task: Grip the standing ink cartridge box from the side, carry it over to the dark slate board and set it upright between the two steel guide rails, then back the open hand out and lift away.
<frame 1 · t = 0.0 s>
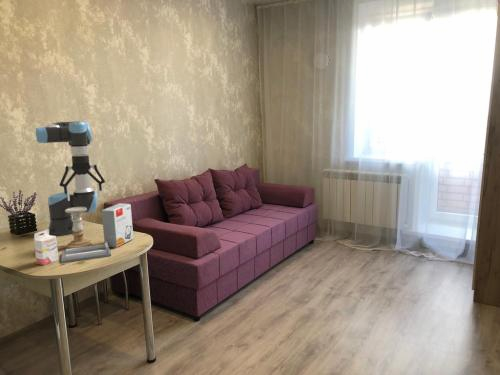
hand: (84, 199, 194), 28 cm above the table, tool pointing down, fingers open, 13 cm apart
ink cartridge box: (48, 262, 189), on the table
rail cradle: (86, 254, 198), on the table
candle holder: (79, 246, 212), on the table
hard drive box: (119, 243, 215), on the table
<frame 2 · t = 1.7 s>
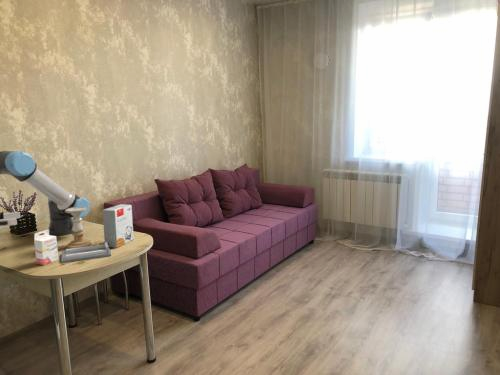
hand: (18, 218, 181), 22 cm above the table, tool horizontal, fingers open, 13 cm apart
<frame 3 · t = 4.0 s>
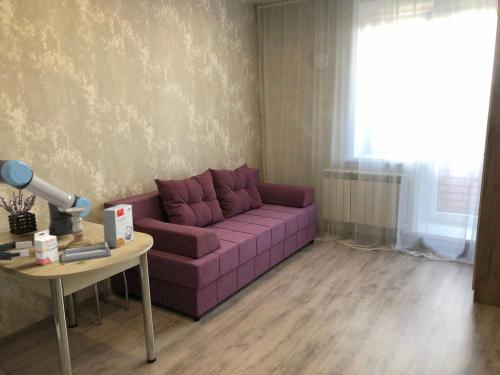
hand: (30, 248, 185), 8 cm above the table, tool horizontal, fingers open, 13 cm apart
nothing on the table moved.
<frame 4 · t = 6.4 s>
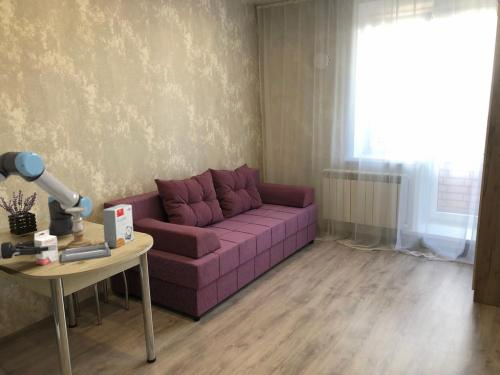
hand: (56, 244, 190), 8 cm above the table, tool horizontal, fingers closed on ink cartridge box, 9 cm apart
ink cartridge box: (47, 262, 189), on the table, touching gripper
everything else where it was.
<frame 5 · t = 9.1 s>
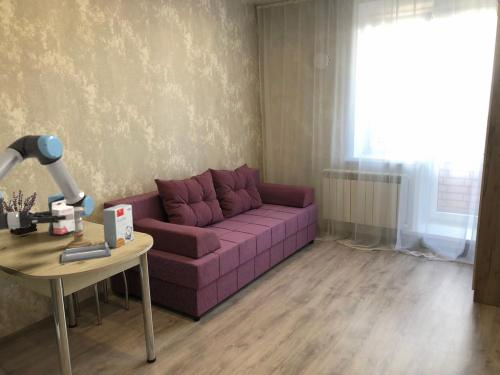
hand: (73, 214, 190), 22 cm above the table, tool horizontal, fingers closed on ink cartridge box, 9 cm apart
ink cartridge box: (64, 232, 190), point 13 cm above the table, touching gripper
everything else where it was.
when the fingers open (11 cm above the table, at t = 12.3 s): ink cartridge box stays where it is, resting on rail cradle.
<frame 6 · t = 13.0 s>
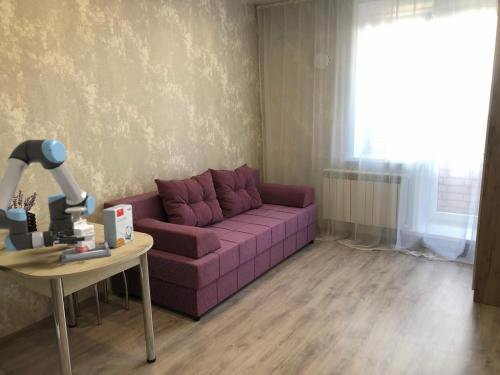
hand: (91, 233, 197), 10 cm above the table, tool horizontal, fingers open, 13 cm apart
ink cartridge box: (85, 250, 197), point 2 cm above the table, touching rail cradle
everything else where it was.
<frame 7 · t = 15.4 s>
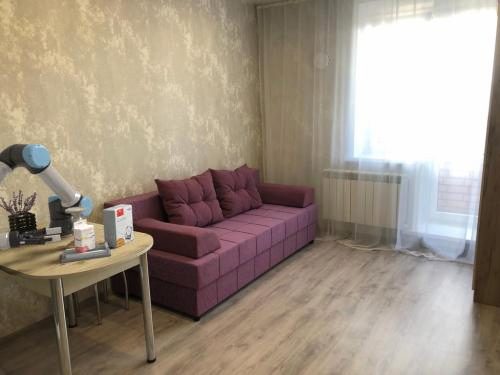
hand: (60, 233, 191), 12 cm above the table, tool horizontal, fingers open, 13 cm apart
nothing on the table moved.
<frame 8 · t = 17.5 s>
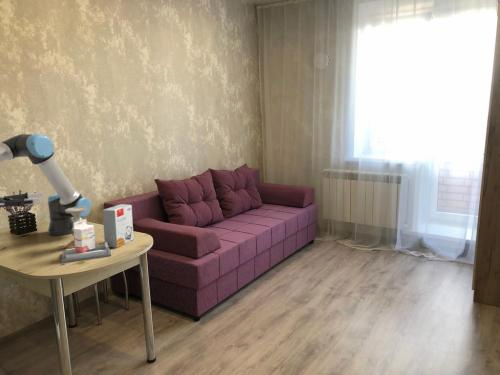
hand: (42, 198, 188), 30 cm above the table, tool horizontal, fingers open, 13 cm apart
nothing on the table moved.
at the end: ink cartridge box inside the target area on the rail cradle (0.1 cm from its centre), point 2.5 cm above the rail cradle's base; ink cartridge box tilted 0°; the gripper is holding nothing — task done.
